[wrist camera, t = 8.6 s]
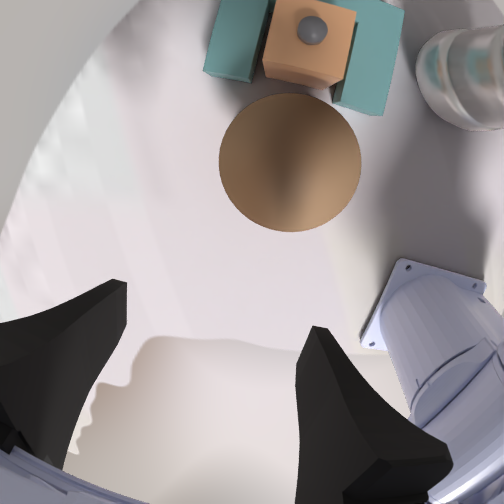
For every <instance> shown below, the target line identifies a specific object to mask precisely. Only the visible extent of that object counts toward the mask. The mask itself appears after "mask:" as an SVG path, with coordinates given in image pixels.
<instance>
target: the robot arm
mask: <svg viewBox="0 0 504 504" xmlns="http://www.w3.org/2000/svg"><path fill="white" fill-rule="evenodd" d="M408 265H410V267H409V268H408V269H406V267H407V266H408ZM474 283H475V284H474ZM473 284H474V286H473ZM486 287H487V285H486V283H485V282H484V281H482V280H479V279H475V278H472V277H469V276H465V275H462V274H458V273H455V272H451V271H448V270H444V269H441V268H437V267H433V266H430V265H426V264H423V263H419V262H415V261H412V260H408V259H404V258H401V259H399V260H398V261H397V262H396V264H395V266H394V269H393V271H392V274H391V276H390V278H389V280H388V283H387V285H386V287H385V290H384V292H383V294H382V296H381V298H380V301H379V303H378V305H377V307H376V309H375V311H374V313H373V315H372V318H371V320H370V322H369V324H368V326H367V328H366V330H365V332H364V334H363V336H362V338H361V340H360V344H361V346H362V347H364V348H371V349H377V350H384V351H388V352H389V355H390V358H391V360H392V363H393V365H394V368H395V370H396V373H397V376H398V379H399V381H400V384H401V387H402V389H403V392H404V395H405V398H406V400H407V403H408V406H409V409H410V412H411V414H410V417H409V418H408V419H406V418H405V417H403V416H402V415H401V414H400V413H399V412H397V411H396V410H395V409H394V408H393V407H391V406H390V405H389V404H388V403H387V402H386V401H385V400H384V399H383V398H382V397H381V396H380V395H379V394H378V393H377V392H376V391H375V390H374V389H373V388H372V387H371V386H370V385H369V384H368V382H367V381H366V380H365V379H364V378H363V377H362V375H361V374H360V373H359V371H358V370H357V369H356V368H355V366H354V365H353V364H352V362H351V361H350V360H349V358H348V357H347V355H346V354H345V353H344V351H343V350H342V348H341V347H340V345H339V344H338V342H337V341H336V340H335V338H334V337H333V335H332V334H331V332H330V331H329V330H328V328H323V327H317V326H312V328H311V330H310V333H309V335H308V338H307V340H306V343H305V345H304V347H303V350H302V352H301V354H300V357H299V359H298V361H297V364H296V384H295V387H296V399H297V411H298V422H299V435H300V448H299V449H300V450H299V466H298V480H297V489H296V497H295V504H504V318H503V317H502V316H501V315H500V314H499V313H498V311H497V310H496V309H495V308H494V307H493V306H492V305H491V303H490V302H489V301H488V300H487V299H486V298H485V297H484V296H483V293H484V291H485V289H486ZM126 324H127V282H123V281H119V280H116V279H111V280H109V281H107V282H105V283H103V284H101V285H99V286H97V287H95V288H93V289H91V290H89V291H87V292H85V293H83V294H81V295H79V296H77V297H75V298H73V299H71V300H69V301H67V302H65V303H62V304H60V305H58V306H56V307H53V308H51V309H49V310H46V311H43V312H40V313H37V314H34V315H31V316H28V317H24V318H20V319H17V320H13V321H9V322H3V323H0V504H149V503H146V502H142V501H139V500H136V499H133V498H129V497H127V496H123V495H121V494H117V493H115V492H112V491H109V490H107V489H104V488H101V487H99V486H96V485H94V484H91V483H89V482H86V481H84V480H82V479H79V478H77V477H75V476H73V475H70V474H68V473H66V472H64V471H62V469H63V465H64V461H65V457H66V454H67V450H68V447H69V443H70V440H71V437H72V434H73V431H74V428H75V425H76V423H77V420H78V417H79V415H80V412H81V410H82V407H83V405H84V403H85V400H86V398H87V396H88V393H89V391H90V389H91V388H92V386H93V384H94V382H95V380H96V379H97V377H98V376H99V374H100V372H101V371H102V369H103V367H104V366H105V364H106V363H107V361H108V359H109V358H110V356H111V354H112V353H113V351H114V350H115V348H116V346H117V345H118V342H119V340H120V338H121V336H122V334H123V331H124V329H125V327H126ZM370 342H373V343H370Z"/></svg>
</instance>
